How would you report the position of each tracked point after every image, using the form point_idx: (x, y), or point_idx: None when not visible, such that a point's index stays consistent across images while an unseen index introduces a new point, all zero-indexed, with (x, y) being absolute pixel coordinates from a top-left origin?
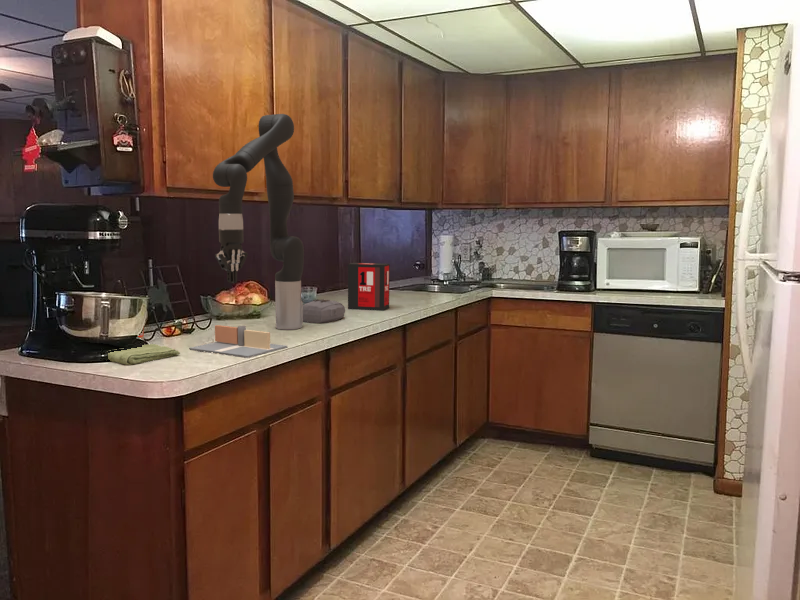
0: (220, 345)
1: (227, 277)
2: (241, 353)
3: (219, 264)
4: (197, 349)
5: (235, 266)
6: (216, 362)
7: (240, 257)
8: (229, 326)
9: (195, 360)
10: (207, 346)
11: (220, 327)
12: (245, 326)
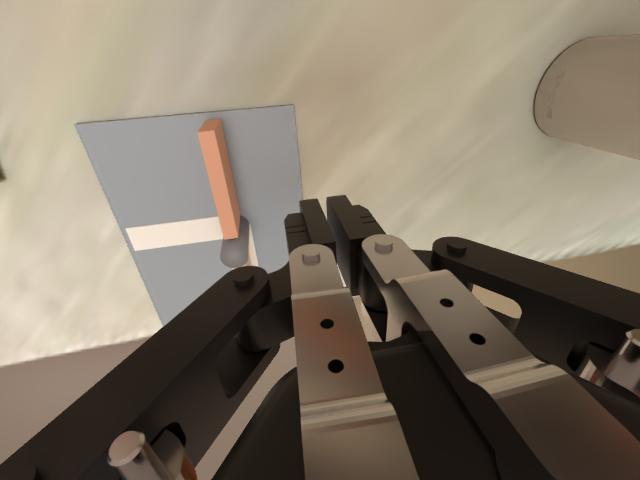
0: (189, 176)
1: (286, 234)
2: (168, 298)
3: (172, 321)
4: (93, 164)
5: (372, 329)
6: (70, 314)
7: (586, 347)
8: (227, 195)
9: (27, 266)
10: (144, 156)
11: (205, 162)
12: (241, 266)
